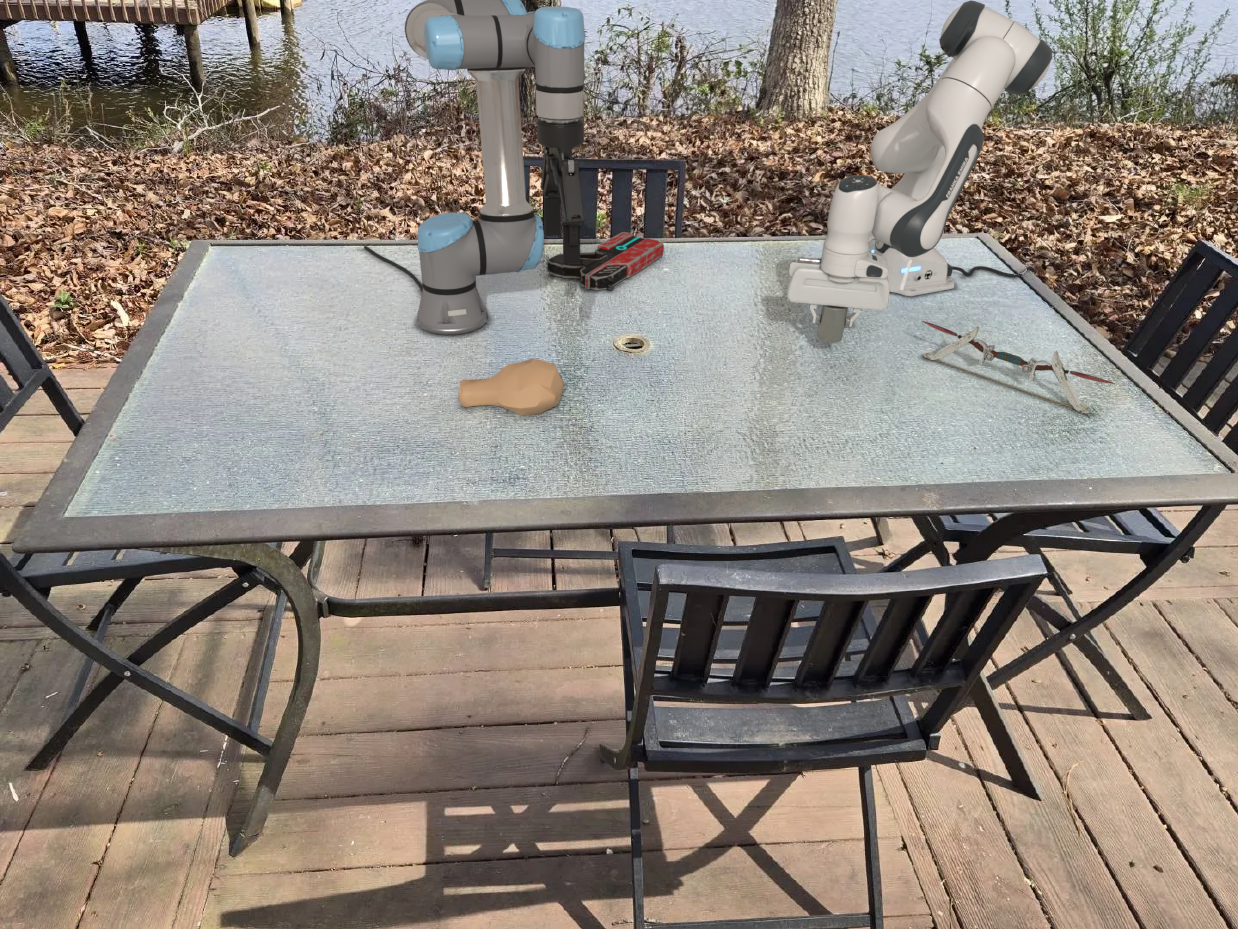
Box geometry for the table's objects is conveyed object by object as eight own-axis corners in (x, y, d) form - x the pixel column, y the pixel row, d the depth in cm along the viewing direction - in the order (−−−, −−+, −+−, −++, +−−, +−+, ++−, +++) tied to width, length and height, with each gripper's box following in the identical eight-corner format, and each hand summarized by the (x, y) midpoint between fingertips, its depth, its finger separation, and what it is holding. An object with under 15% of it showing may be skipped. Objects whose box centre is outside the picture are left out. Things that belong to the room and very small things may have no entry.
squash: (565, 421, 162) (558, 383, 156) (459, 429, 164) (448, 392, 158) (568, 385, 170) (561, 347, 164) (467, 393, 172) (456, 356, 165)
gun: (540, 260, 217) (606, 279, 209) (606, 224, 239) (668, 240, 231) (540, 277, 220) (606, 296, 212) (605, 240, 242) (667, 256, 234)
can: (829, 345, 181) (835, 311, 176) (811, 335, 184) (817, 302, 180) (847, 339, 183) (853, 305, 179) (829, 329, 187) (835, 296, 182)
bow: (1102, 416, 168) (1120, 369, 163) (1099, 419, 167) (1116, 372, 162) (916, 351, 190) (927, 308, 184) (912, 354, 189) (923, 311, 183)
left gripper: (604, 135, 129) (602, 272, 141) (564, 100, 149) (565, 223, 161) (555, 138, 127) (557, 276, 139) (521, 101, 147) (525, 226, 159)
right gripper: (790, 261, 173) (781, 325, 181) (896, 271, 170) (882, 335, 178) (791, 250, 178) (782, 312, 186) (894, 259, 175) (880, 322, 183)
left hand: (561, 248), depth 150 cm, fingers open, 13 cm apart
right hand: (832, 324), depth 182 cm, fingers closed on can, 5 cm apart
